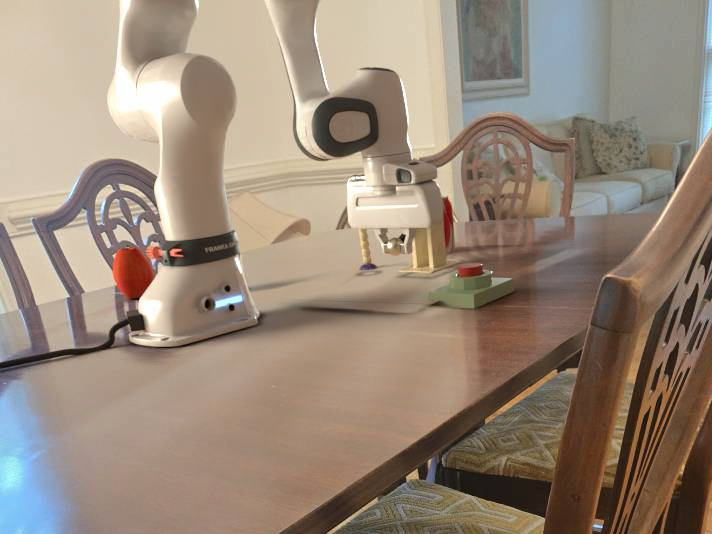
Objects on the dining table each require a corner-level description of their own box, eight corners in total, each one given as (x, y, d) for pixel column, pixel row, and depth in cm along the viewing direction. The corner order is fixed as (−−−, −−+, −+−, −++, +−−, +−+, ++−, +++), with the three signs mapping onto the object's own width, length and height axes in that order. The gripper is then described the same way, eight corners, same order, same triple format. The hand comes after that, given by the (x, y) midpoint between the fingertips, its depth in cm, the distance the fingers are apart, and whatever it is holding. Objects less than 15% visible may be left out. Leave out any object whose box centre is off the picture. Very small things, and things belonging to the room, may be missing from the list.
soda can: (421, 261, 165) (415, 200, 159) (425, 255, 171) (420, 196, 165) (453, 258, 163) (449, 197, 157) (457, 253, 169) (453, 193, 163)
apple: (129, 304, 157) (114, 248, 151) (113, 300, 162) (98, 246, 157) (166, 295, 161) (152, 241, 156) (149, 291, 167) (136, 239, 161)
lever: (400, 259, 143) (394, 244, 141) (387, 259, 145) (381, 244, 142) (438, 216, 149) (433, 200, 146) (425, 216, 150) (420, 201, 148)
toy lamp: (353, 276, 158) (341, 187, 150) (361, 271, 162) (350, 184, 154) (375, 274, 157) (364, 185, 148) (382, 270, 160) (372, 182, 152)
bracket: (431, 278, 148) (425, 206, 141) (399, 276, 152) (392, 207, 146) (461, 267, 154) (456, 198, 148) (429, 266, 159) (423, 199, 152)
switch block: (474, 308, 122) (473, 283, 120) (429, 305, 127) (427, 280, 125) (513, 291, 130) (513, 267, 128) (469, 289, 135) (468, 265, 133)
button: (474, 279, 124) (473, 268, 124) (453, 278, 127) (453, 267, 126) (487, 274, 127) (487, 263, 126) (467, 273, 129) (466, 262, 128)
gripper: (334, 177, 141) (345, 256, 148) (423, 172, 129) (430, 257, 136) (356, 172, 145) (366, 249, 152) (444, 167, 134) (451, 250, 140)
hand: (397, 253), depth 144 cm, fingers closed on lever, 3 cm apart
